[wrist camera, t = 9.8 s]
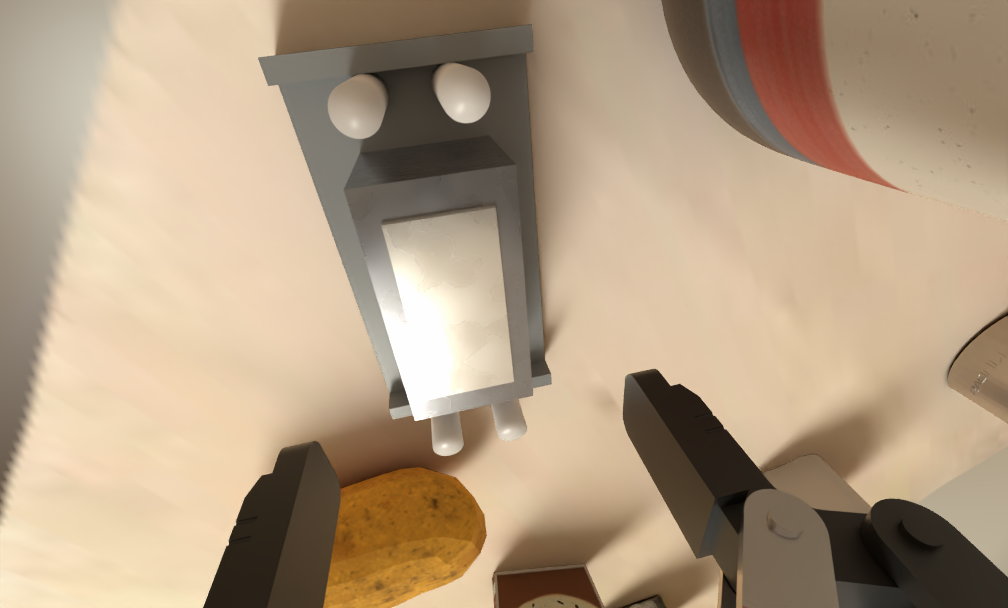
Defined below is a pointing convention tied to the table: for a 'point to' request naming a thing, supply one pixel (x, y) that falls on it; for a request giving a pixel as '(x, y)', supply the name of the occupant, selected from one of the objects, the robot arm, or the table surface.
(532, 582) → the food container
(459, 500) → the potato
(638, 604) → the chalk box
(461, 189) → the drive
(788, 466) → the lumpy-topped squat cylinder
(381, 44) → the grey pegged block
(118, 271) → the table surface
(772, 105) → the vase
